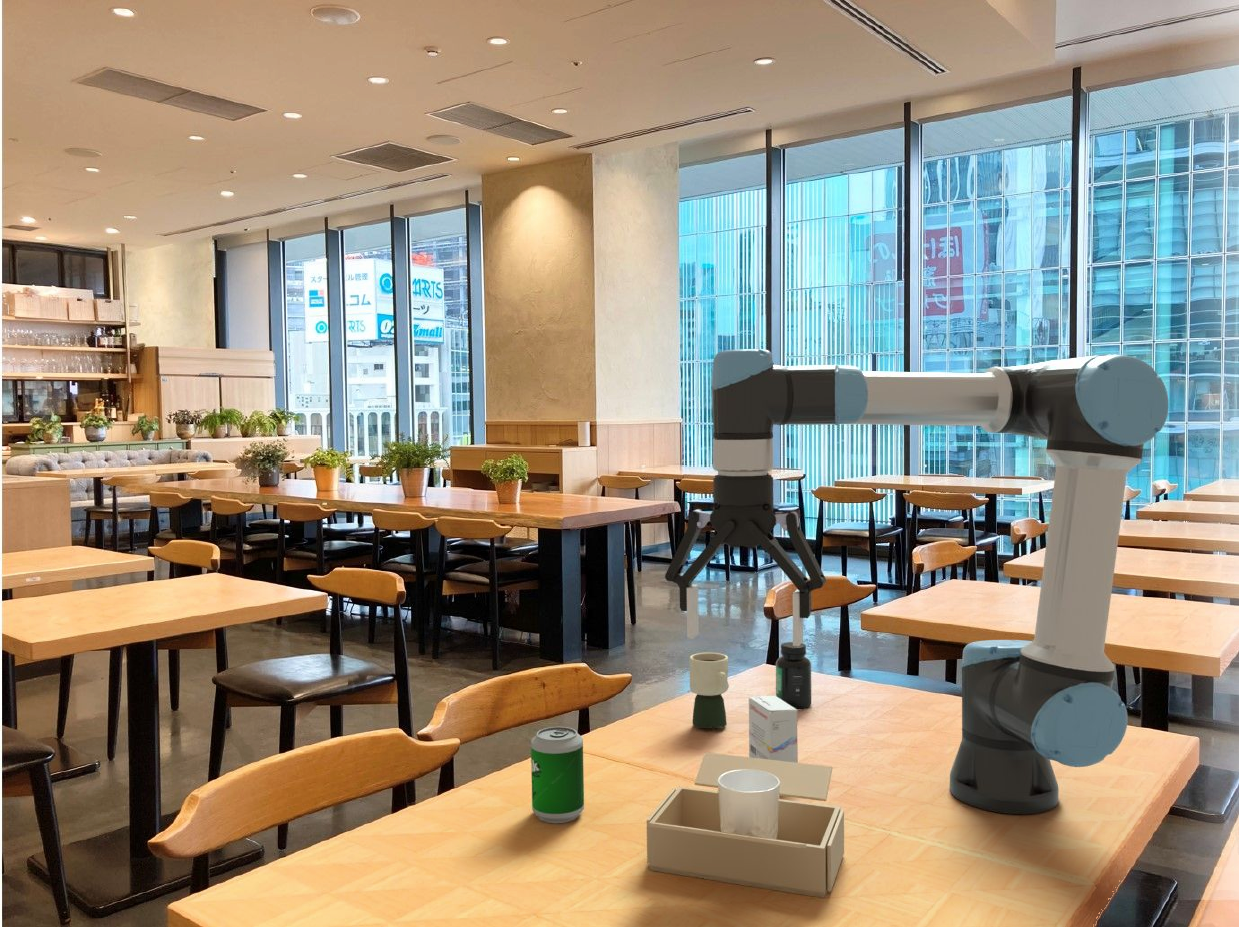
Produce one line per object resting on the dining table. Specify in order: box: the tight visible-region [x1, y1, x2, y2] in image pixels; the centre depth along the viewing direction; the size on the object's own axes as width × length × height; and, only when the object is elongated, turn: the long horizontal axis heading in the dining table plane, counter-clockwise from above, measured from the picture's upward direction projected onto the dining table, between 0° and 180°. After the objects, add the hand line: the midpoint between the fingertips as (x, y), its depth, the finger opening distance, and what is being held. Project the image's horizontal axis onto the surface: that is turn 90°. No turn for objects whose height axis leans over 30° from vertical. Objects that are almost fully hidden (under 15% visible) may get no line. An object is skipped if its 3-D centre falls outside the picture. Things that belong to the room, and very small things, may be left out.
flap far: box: [694, 752, 833, 802], centre depth 136 cm, size 18×1×6 cm
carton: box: [646, 786, 845, 899], centre depth 127 cm, size 23×13×6 cm, turn 69°
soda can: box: [530, 726, 585, 824], centre depth 142 cm, size 8×8×12 cm
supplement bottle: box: [775, 641, 812, 710], centre depth 193 cm, size 7×7×12 cm
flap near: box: [646, 822, 806, 848], centre depth 117 cm, size 18×1×6 cm
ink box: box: [748, 695, 799, 763], centre depth 156 cm, size 8×5×12 cm, turn 16°
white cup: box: [717, 769, 780, 839], centre depth 126 cm, size 8×8×10 cm
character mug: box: [689, 652, 730, 729], centre depth 180 cm, size 11×7×13 cm, turn 26°
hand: (744, 640), depth 125 cm, fingers open, 13 cm apart
